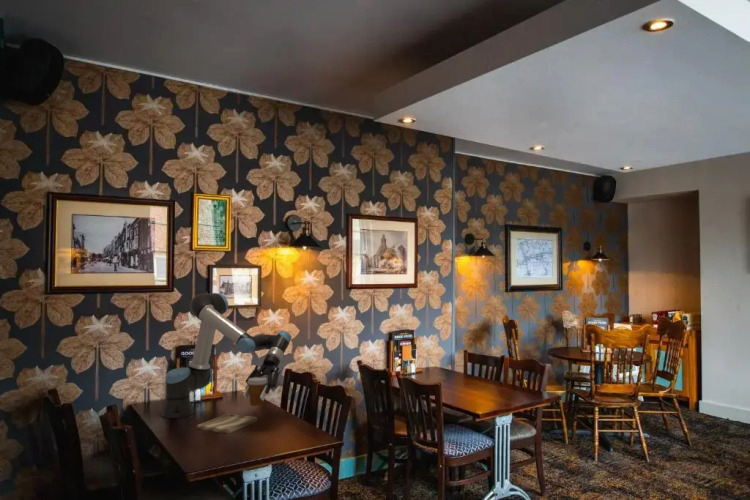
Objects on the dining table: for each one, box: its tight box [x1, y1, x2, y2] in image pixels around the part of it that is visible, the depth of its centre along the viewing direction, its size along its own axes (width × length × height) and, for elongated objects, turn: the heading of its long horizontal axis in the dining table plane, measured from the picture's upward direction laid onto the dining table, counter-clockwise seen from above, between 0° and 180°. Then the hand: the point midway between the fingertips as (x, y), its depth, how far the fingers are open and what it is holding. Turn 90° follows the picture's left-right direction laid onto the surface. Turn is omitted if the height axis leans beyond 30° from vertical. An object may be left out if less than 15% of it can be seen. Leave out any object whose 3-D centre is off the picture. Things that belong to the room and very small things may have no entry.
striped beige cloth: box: [197, 413, 258, 435], centre depth 250 cm, size 18×22×2 cm
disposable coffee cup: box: [246, 376, 268, 407], centre depth 243 cm, size 10×10×12 cm
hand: (253, 397), depth 240 cm, fingers closed on disposable coffee cup, 9 cm apart
